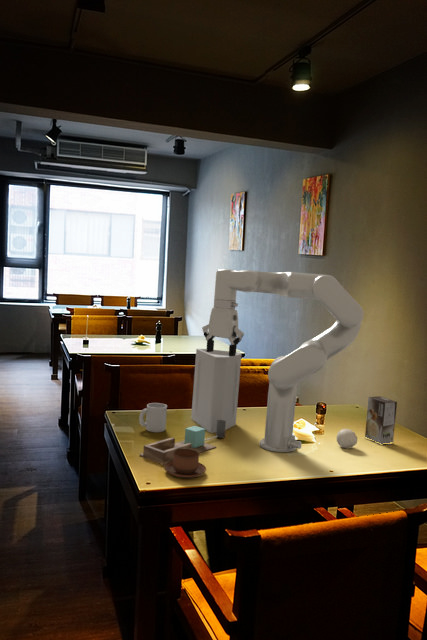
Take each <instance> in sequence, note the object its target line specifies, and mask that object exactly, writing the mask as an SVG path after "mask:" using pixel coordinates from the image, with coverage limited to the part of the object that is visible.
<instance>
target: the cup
mask: <svg viewBox="0 0 427 640" xmlns="http://www.w3.org/2000/svg"><path fill="white" fill-rule="evenodd" d="M167 408H168V405H167V404H165V403H160V402H151V403H148V404H146V408H143V409H142V410H141V411H140V413H139V418H138V420H139V421H138V422H139V425H141V426H142V427H144V428H145V429H146V431H147V432H149V433H150V432H151V433H161V432H164V431H166V427H167V425H166V424H167V413H168V412H167ZM145 415H146V417H144V416H145ZM144 418H145V421H144Z"/></svg>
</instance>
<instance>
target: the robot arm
mask: <svg viewBox="0 0 427 640" xmlns="http://www.w3.org/2000/svg"><path fill="white" fill-rule="evenodd" d="M214 283H215V285H214V296H213V297H214V298H213V307H212V308H211V312H210V315H209V321H208V322H209V323H208V324H207V325H204V326H202V327H201V328H202V332H203V336H204V337H205V340H206V349H207V352H213V350H215V349H214V347H215V340H214V339H215V338H220V339H221V338H222V339H228V341H229V343H230V344H229V345H228V346H229V348H228V351H229V356H235V355H236V352H237V347H238V346H237V345H238V344H239V343H240V342H241V341H242V339H243V337H244V335H245V333H244V332H243V331H242V330H241V329H239V316H238V314H239V313H238V310H237V309H236V308H238V307H239V306H238V305H239V303H237V291H239V292H242V293H261V294H262V293H263V294H270V295H271V294H272V295H278V296H282V297H286V298H295V299H296V298H297V299H306V300H307V299H309V300H315V301H316V300H317V301H319V302H320V304H321V305H322V306H323V307H324V308H325V309H326V310H327V311H328V312H329V313H330V314H331V315H332V316H333V318H334V319H335V322H334V323H333V324H332V325H331V326H330V327H329V328H327V329H325V330H324V331H322V332H321V333H320V334H318V335H317V336H315V337H312V338H311V339H309V340H307V341H305V342H303V343H302V344H301V345H300V346H299V348H297V349H295V350H293V351H291V353H288V354H287V355H282V356H278V357H277V358H275V359H274V360H273V361H272V363H271V364H270V366H269V368H268V372H267V378H268V382H269V383H268V384H269V385H268V392H267V406H266V413H265V414H266V415H265V427H264V438H262V439H260V440H259V443H258V444H259V446H260V448H261V449H264V450H265V451H269V452H274V453H290V452H291V453H292V452H294V451H295V450H296V449H298V450H300V449H302V441H300V440H296V435H294V434H293V433H294V423H295V422H294V421H295V412H296V401H297V388H298V384H299V383H300V382H302V381H304V380H306V379H308V378H309V377H311V376H313V375H314V374H316V373H318V372H319V371H320V370H322V368H323V367H324V366H325V365H326V361H328V360H329V359H330V358H333V357H334V356H336V355H337V354H339V353H340V352H342V351H343V350H345V349H346V348H348V347H349V346H350V345H351V344H352V343H353V342H354V341H355V340H356V339H357V337H358V336H359V335H358V334H359V333H360V331H361V327H362V321H363V319H364V310H363V308H362V306H361V304H359V303H358V302H357V301H356V299H354V298H353V297H352V295H351V294H350V293H349V292H348V291H347V290H346V289H345V288H344V287H343V286H342V284H341V283H340V282H339V280H337V279H336V277H334V276H333V275H330V274H319V273H318V274H317V273H307V272H306V273H305V272H296V271H284V272H272V271H271V272H270V271H257V270H250V269H249V270H245V269H244V270H235V269H227V268H220V269H217V270H216V273H215V282H214Z"/></svg>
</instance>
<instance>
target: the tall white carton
mask: <svg viewBox="0 0 427 640" xmlns="http://www.w3.org/2000/svg"><path fill="white" fill-rule="evenodd" d="M195 350H196V351H195V360H194V361H195V364H194V375H193V377H194V378H193V388H192V389H193V392H192V404H191V418H190V419H191V420H192V421H194V423H196V424H197V425H199V427H201V428H204V429H205V431H207V432H208V433H210V434H211V433H215V434H216V426H217V420H225V421H226V426H225V431H226V430H228V429H230V428H232V427H234V426H236V424H237V412H238V400H239V388H240V376H241V363H242V353H241V352H238V351H236V355H235V356H229V350H221V349H220V350H219V349H214V350H213V352H207V348H196V349H195Z"/></svg>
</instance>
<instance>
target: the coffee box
mask: <svg viewBox="0 0 427 640" xmlns="http://www.w3.org/2000/svg"><path fill="white" fill-rule="evenodd" d="M367 401H368V402H367V412H366V419H365V420H366V422H365V431H364V438H365V437H367V438H369V439H372V440H374V441H376V442H379V443H381V444H383V443H390V442H393V443H394V438H395V427H396V417H397V407H398V406H397V405H398V401H395V400H393V399H390V398H386V397H383V396H369V397H368V400H367Z"/></svg>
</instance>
